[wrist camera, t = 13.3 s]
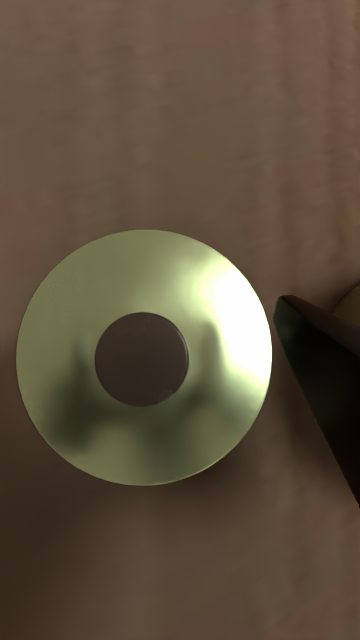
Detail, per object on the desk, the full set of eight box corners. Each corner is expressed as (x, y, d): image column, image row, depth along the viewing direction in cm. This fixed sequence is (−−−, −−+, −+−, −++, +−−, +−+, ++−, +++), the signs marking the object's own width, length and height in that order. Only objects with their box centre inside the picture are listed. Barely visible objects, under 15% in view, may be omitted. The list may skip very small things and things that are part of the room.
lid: (288, 436, 14) (409, 522, 7) (54, 504, 13) (-63, 687, 6) (232, 219, 15) (293, 116, 8) (7, 263, 13) (-142, 184, 7)
